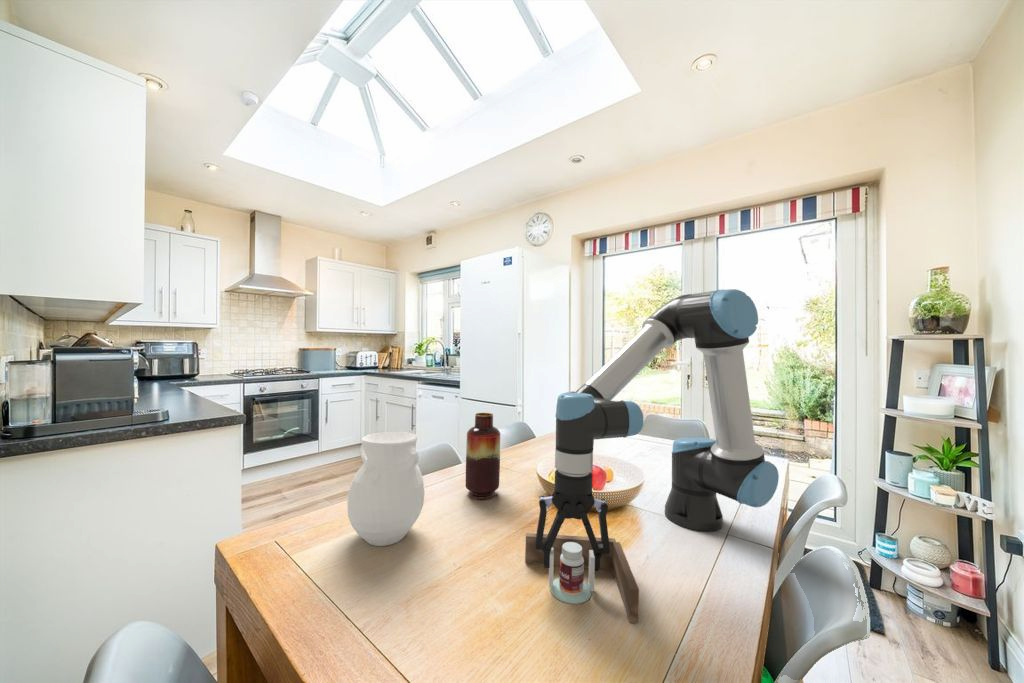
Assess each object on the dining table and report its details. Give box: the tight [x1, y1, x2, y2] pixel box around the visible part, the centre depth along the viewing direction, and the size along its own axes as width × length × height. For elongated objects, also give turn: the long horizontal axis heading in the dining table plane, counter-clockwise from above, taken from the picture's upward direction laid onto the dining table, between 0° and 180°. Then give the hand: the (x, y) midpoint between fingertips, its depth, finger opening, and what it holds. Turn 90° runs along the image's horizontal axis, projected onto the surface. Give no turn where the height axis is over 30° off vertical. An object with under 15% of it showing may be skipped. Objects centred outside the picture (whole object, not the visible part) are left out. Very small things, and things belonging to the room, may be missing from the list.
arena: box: [524, 532, 640, 624], centre depth 76 cm, size 21×18×6 cm
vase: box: [465, 412, 501, 501], centre depth 122 cm, size 11×11×26 cm
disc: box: [550, 577, 592, 605], centre depth 75 cm, size 8×8×1 cm
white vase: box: [347, 430, 425, 547], centre depth 94 cm, size 19×18×25 cm
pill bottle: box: [558, 542, 585, 596], centre depth 75 cm, size 5×5×8 cm
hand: (570, 584), depth 75 cm, fingers open, 7 cm apart
